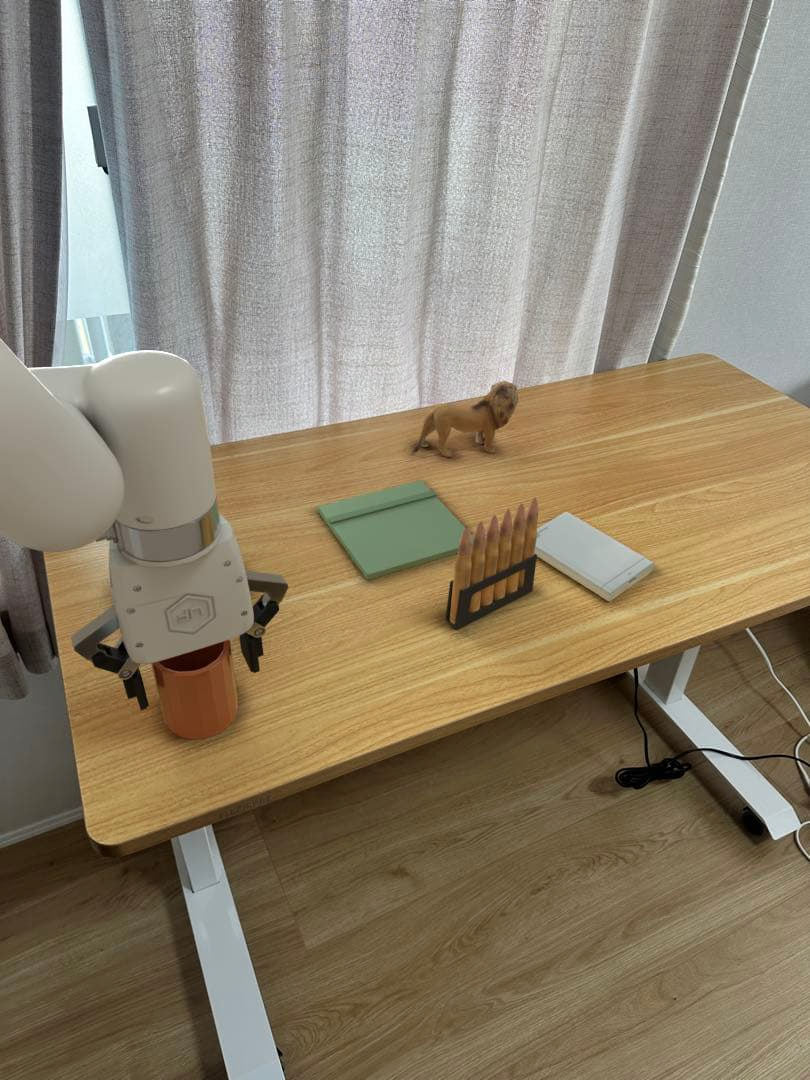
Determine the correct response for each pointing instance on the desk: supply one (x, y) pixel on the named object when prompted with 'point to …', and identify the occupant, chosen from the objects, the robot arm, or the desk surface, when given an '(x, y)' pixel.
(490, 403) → the lion figurine
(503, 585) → the ammunition clip
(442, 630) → the desk surface
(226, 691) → the cup
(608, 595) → the hard drive
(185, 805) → the desk surface
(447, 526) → the notepad
